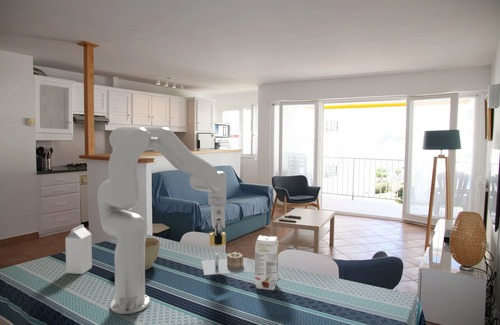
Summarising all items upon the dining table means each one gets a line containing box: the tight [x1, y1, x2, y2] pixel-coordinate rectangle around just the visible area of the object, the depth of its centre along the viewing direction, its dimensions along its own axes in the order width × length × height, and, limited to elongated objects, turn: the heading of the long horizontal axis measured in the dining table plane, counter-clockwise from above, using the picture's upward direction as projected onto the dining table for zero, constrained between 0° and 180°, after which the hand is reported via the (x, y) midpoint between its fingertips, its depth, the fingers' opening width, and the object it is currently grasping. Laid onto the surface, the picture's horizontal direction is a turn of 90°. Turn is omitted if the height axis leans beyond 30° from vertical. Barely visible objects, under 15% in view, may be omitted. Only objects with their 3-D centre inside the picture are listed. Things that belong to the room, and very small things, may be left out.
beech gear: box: [226, 252, 244, 268], centre depth 147 cm, size 7×7×4 cm
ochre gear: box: [208, 231, 227, 248], centre depth 144 cm, size 7×7×4 cm
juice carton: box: [254, 234, 279, 291], centre depth 129 cm, size 8×9×19 cm
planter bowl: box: [145, 236, 161, 271], centre depth 147 cm, size 16×16×11 cm
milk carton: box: [64, 224, 93, 275], centre depth 141 cm, size 7×7×19 cm
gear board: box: [201, 252, 253, 276], centre depth 146 cm, size 16×20×7 cm
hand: (217, 241), depth 144 cm, fingers closed on ochre gear, 6 cm apart
